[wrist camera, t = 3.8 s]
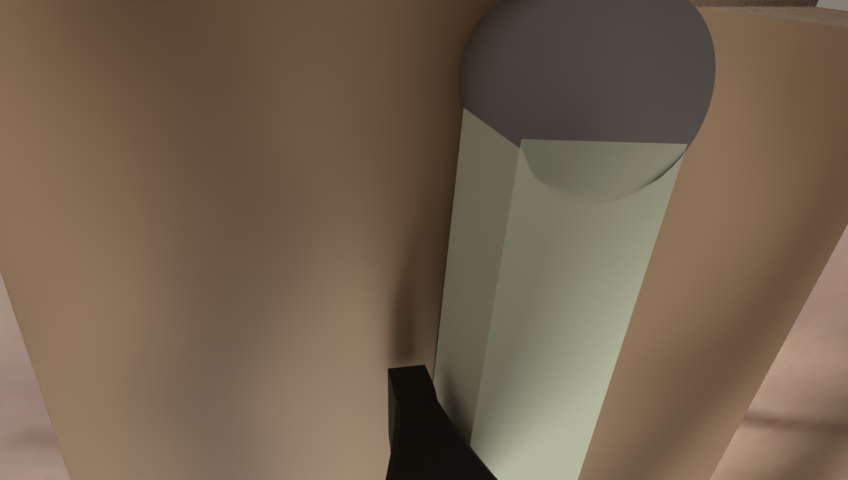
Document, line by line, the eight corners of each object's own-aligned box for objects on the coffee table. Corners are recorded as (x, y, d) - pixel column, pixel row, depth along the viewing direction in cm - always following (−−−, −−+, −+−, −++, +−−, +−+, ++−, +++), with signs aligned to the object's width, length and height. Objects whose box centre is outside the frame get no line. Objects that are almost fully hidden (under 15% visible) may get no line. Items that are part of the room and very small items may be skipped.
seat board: (147, 570, 16) (124, 640, 14) (-81, -289, 7) (-223, -393, 5) (638, 505, 20) (669, 554, 18) (909, -84, 11) (1023, -102, 9)
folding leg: (468, -19, 8) (537, -31, 5) (620, -4, 8) (746, -7, 6) (420, 447, 12) (444, 556, 10) (518, 436, 13) (564, 537, 10)
